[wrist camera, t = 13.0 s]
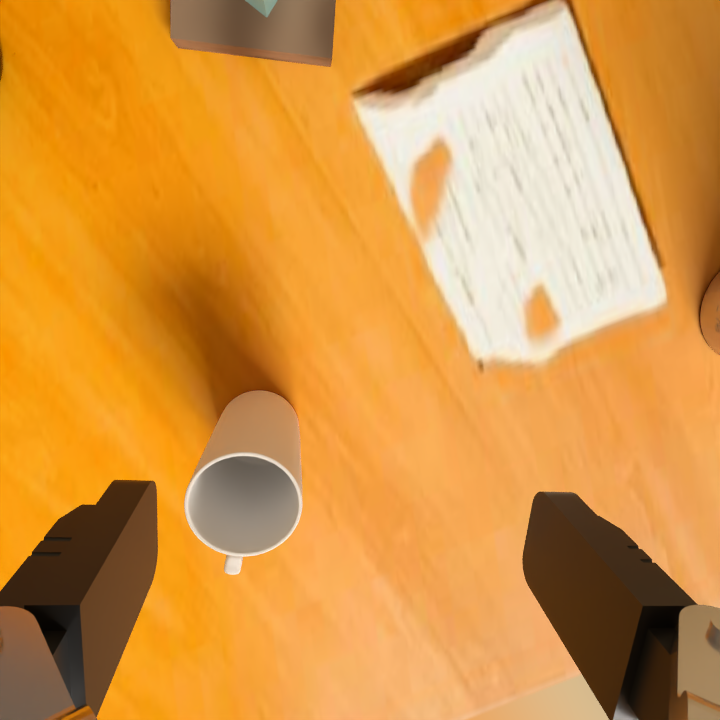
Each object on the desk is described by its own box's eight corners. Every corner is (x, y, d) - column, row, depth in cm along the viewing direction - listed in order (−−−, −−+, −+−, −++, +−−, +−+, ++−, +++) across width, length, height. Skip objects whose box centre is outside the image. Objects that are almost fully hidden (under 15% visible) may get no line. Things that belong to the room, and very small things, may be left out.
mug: (224, 378, 41) (193, 443, 29) (309, 394, 42) (312, 462, 30) (204, 493, 43) (168, 595, 32) (285, 506, 44) (279, 608, 33)
